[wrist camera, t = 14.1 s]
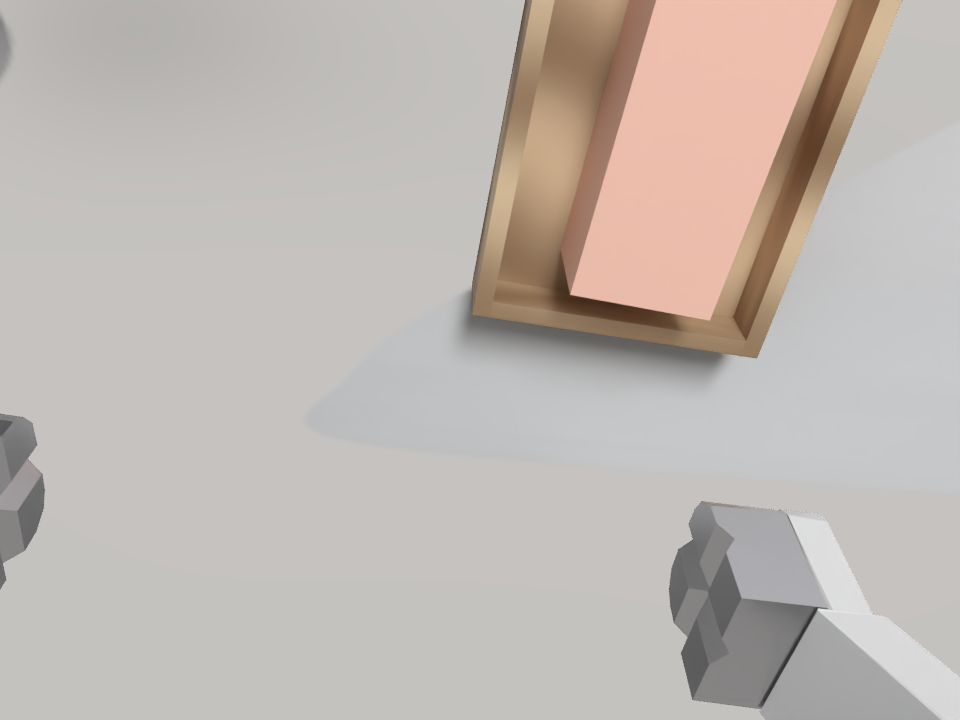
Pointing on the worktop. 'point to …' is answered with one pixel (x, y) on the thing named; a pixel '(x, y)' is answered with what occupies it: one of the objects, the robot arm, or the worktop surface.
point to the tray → (561, 155)
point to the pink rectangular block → (685, 146)
